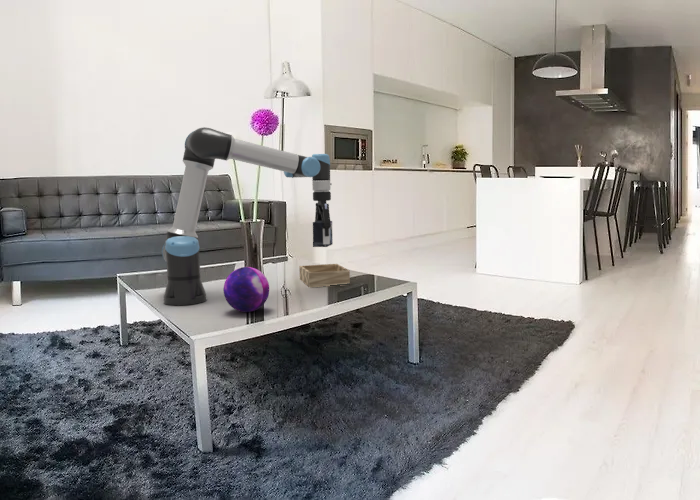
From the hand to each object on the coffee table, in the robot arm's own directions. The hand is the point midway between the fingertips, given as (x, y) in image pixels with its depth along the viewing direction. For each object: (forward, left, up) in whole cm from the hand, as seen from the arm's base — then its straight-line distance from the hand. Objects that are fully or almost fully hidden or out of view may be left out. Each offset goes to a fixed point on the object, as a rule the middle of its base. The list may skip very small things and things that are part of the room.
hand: (323, 242), depth 243 cm
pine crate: (0, 0, -17) cm, 17 cm away
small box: (0, 0, -2) cm, 2 cm away
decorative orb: (-45, +37, -17) cm, 61 cm away
